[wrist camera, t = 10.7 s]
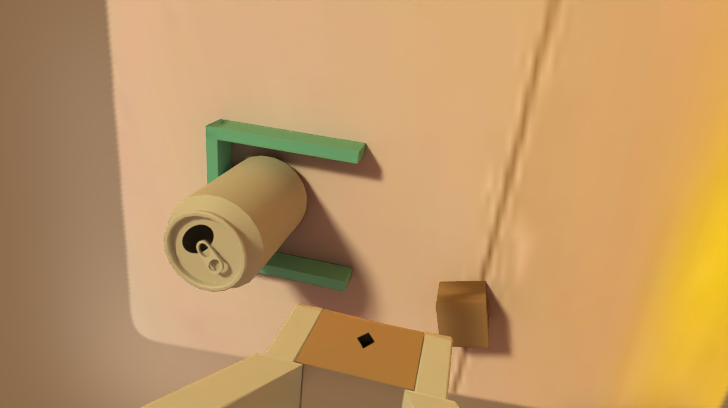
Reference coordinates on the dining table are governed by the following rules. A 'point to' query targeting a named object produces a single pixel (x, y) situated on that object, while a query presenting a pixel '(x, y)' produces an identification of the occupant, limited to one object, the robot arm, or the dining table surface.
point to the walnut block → (463, 313)
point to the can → (235, 223)
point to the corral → (294, 142)
